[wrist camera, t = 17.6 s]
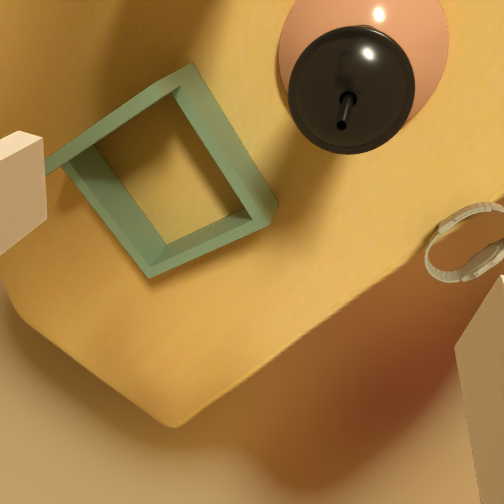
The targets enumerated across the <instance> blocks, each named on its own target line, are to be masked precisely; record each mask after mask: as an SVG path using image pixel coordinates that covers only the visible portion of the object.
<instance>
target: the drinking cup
mask: <svg viewBox="0 0 504 504" xmlns="http://www.w3.org/2000/svg"><path fill="white" fill-rule="evenodd" d="M414 97H415V76H414V71H413V68H412V65H411V62H410V60H409V58H408V56H407V54H406V53H405V51H404V50H403V48H402V47H401V46H400V45H399V44H398V43H397V42H396V41H395V40H394V39H393V38H392V37H390V36H389V35H387V34H385V33H384V32H382V31H380V30H377V29H376V28H374V27H372V26H369V25H352V26H344V27H339V28H336V29H333V30H330V31H328V32H326V33H324V34H322V35H321V36H319V37H318V38H316V39H315V40H314V41H313V42H311V43H310V44H309V45H308V46H307V47H306V48H305V49H304V51H303V52H302V53H301V55H300V56H299V58H298V59H297V61H296V63H295V65H294V67H293V70H292V72H291V75H290V79H289V85H288V103H289V108H290V112H291V115H292V117H293V120H294V122H295V124H296V126H297V127H298V129H299V130H300V131H301V133H302V134H303V135H304V136H305V137H306V138H307V139H308V140H309V141H310V142H312V143H313V144H315V145H316V146H318V147H320V148H321V149H324V150H326V151H329V152H332V153H336V154H346V155H351V154H360V153H364V152H368V151H371V150H373V149H376V148H378V147H379V146H381V145H383V144H385V143H386V142H387V141H389V140H390V139H391V138H392V137H393V136H394V135H395V134H397V132H398V131H399V130H400V129H401V128H402V126H403V125H404V123H405V122H406V120H407V118H408V116H409V114H410V112H411V109H412V106H413V102H414Z"/></svg>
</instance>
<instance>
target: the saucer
mask: <svg viewBox="0 0 504 504" xmlns="http://www.w3.org/2000/svg"><path fill="white" fill-rule="evenodd" d="M352 25H369V26H372V27H374V28H376V29H377V30H380V31H382V32H384V33H385V34H387V35H389V36H390V37H392V38H393V39H394V40H395V41H396V42H397V43H398V44H399V45H400V46H401V47H402V48H403V50H404V51H405V53H406V54H407V56H408V58H409V60H410V62H411V65H412V68H413V71H414V76H415V97H414V102H413V106H412V109H411V112H410V114H409V116H408V118H407V120H409V119H410V118H411V117H413V116H414V115H415V114H416V113H417V112H418V111H419V110H420V109H421V108H422V107H423V106H424V105H425V104H426V103H427V101H428V100H429V99H430V97H431V96H432V94H433V93H434V91H435V90H436V88H437V86H438V84H439V82H440V80H441V77H442V74H443V72H444V69H445V65H446V61H447V56H448V46H449V38H448V27H447V21H446V18H445V15H444V11H443V8H442V6H441V4H440V2H439V0H296V1H295V3H294V5H293V6H292V8H291V10H290V12H289V14H288V16H287V18H286V21H285V23H284V26H283V30H282V33H281V38H280V44H279V68H280V73H281V78H282V81H283V84H284V87H285V90H286V92H287V94H288V85H289V79H290V75H291V72H292V70H293V67H294V65H295V63H296V61H297V59H298V58H299V56H300V55H301V53H302V52H303V51H304V49H305V48H306V47H307V46H308V45H309V44H310V43H311V42H313V41H314V40H315V39H316V38H318V37H319V36H321V35H322V34H324V33H326V32H328V31H330V30H333V29H336V28H339V27H344V26H352ZM407 120H406V121H407Z"/></svg>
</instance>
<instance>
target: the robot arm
mask: <svg viewBox="0 0 504 504" xmlns="http://www.w3.org/2000/svg"><path fill="white" fill-rule="evenodd" d="M47 219H48V217H47V199H46V181H45V163H44V145H43V138H42V137H39V136H36V135H32V134H29V133H26V132H22V131H17V132H14V133H12V134H10V135H8V136H6V137H4V138H2V139H0V256H1V255H2V254H3V253H5V252H6V251H7V250H8V249H10V248H11V247H12V246H13V245H15V244H16V243H17V242H19V241H20V240H21V239H22V238H24V237H25V236H26V235H28V234H29V233H30V232H31V231H33V230H34V229H35V228H36V227H38V226H39V225H40V224H42V223H43V222H44V221H45V220H47ZM455 353H456V359H457V365H458V371H459V377H460V383H461V389H462V394H463V400H464V407H465V412H466V418H467V424H468V430H469V435H470V442H471V448H472V454H473V459H474V466H475V472H476V477H477V483H478V489H479V495H480V501H481V504H504V275H500V276H499V278H498V279H497V281H496V282H495V284H494V285H493V287H492V289H491V290H490V292H489V293H488V295H487V296H486V298H485V300H484V301H483V303H482V304H481V306H480V307H479V309H478V311H477V312H476V314H475V315H474V317H473V318H472V320H471V322H470V323H469V325H468V326H467V328H466V330H465V331H464V333H463V334H462V336H461V338H460V339H459V341H458V342H457V344H456V345H455Z"/></svg>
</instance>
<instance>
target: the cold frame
mask: <svg viewBox="0 0 504 504" xmlns="http://www.w3.org/2000/svg"><path fill="white" fill-rule="evenodd" d="M170 93H171V94H172V95H173V97H174V98H175V100H176V101H177V103H178V104H179V106H180V108H181V109H182V111H183V112H184V114H185V115H186V117H187V118H188V120H189V122H190V123H191V125H192V126H193V128H194V129H195V131H196V132H197V134H198V135H199V137H200V139H201V140H202V142H203V143H204V145H205V146H206V148H207V149H208V151H209V153H210V154H211V156H212V157H213V159H214V160H215V162H216V163H217V165H218V167H219V168H220V170H221V171H222V173H223V174H224V176H225V177H226V179H227V181H228V182H229V184H230V185H231V187H232V188H233V190H234V191H235V193H236V195H237V196H238V198H239V199H240V201H241V202H242V204H243V205H244V207H245V208H243V209H241V210H239V211H237V212H235V213H233V214H231V215H229V216H226V217H224V218H222V219H220V220H218V221H216V222H214V223H212V224H210V225H208V226H206V227H203V228H201V229H199V230H197V231H195V232H193V233H191V234H189V235H187V236H185V237H183V238H181V239H178V240H176V241H174V242H172V243H170V244H168V245H167V244H166V243H165V242H164V240H163V239H162V237H161V236H160V235H159V233H158V232H157V231H156V229H155V228H154V227H153V225H152V224H151V223H150V221H149V220H148V218H147V217H146V216H145V214H144V213H143V212H142V210H141V209H140V208H139V206H138V205H137V204H136V202H135V201H134V199H133V198H132V197H131V195H130V194H129V193H128V191H127V190H126V189H125V187H124V186H123V185H122V183H121V182H120V180H119V179H118V178H117V176H116V175H115V174H114V172H113V171H112V170H111V168H110V167H109V166H108V164H107V163H106V161H105V160H104V159H103V157H102V156H101V155H100V153H99V152H98V151H97V149H96V148H95V147H94V144H95V143H97V142H98V141H100V140H101V139H103V138H104V137H106V136H107V135H109V134H110V133H112V132H113V131H115V130H116V129H118V128H119V127H121V126H122V125H124V124H125V123H127V122H128V121H130V120H131V119H133V118H134V117H136V116H137V115H139V114H140V113H142V112H143V111H144V110H146V109H147V108H149V107H150V106H152V105H153V104H155V103H156V102H158V101H159V100H161V99H162V98H164V97H165V96H167V95H168V94H170ZM44 163H45V176H46V175H48V174H49V173H51V172H52V171H54V170H55V169H57V168H58V167H60V166H61V167H62V169H63V170H64V171H65V172H66V174H67V175H68V176H69V178H70V179H71V180H72V181H73V183H74V184H75V185H76V187H77V188H78V189H79V190H80V192H81V193H82V194H83V196H84V197H85V198H86V199H87V201H88V202H89V203H90V205H91V206H92V207H93V208H94V210H95V211H96V212H97V214H98V215H99V216H100V217H101V219H102V220H103V221H104V223H105V224H106V225H107V226H108V228H109V229H110V230H111V232H112V233H113V234H114V235H115V237H116V238H117V239H118V241H119V242H120V243H121V244H122V246H123V247H124V248H125V250H126V251H127V252H128V253H129V255H130V256H131V257H132V259H133V260H134V261H135V262H136V264H137V265H138V266H139V268H140V269H141V270H142V271H143V273H144V274H145V275H146V277H147V278H148V279H150V278H152V277H154V276H157V275H159V274H161V273H163V272H166V271H168V270H170V269H172V268H175V267H177V266H179V265H181V264H184V263H186V262H188V261H190V260H193V259H195V258H197V257H199V256H202V255H204V254H206V253H208V252H211V251H213V250H215V249H217V248H219V247H222V246H224V245H226V244H228V243H231V242H233V241H235V240H237V239H240V238H242V237H244V236H246V235H249V234H251V233H253V232H255V231H258V230H260V229H262V228H264V227H267V226H269V225H270V223H271V220H272V218H273V216H274V214H275V211H276V209H277V207H278V204H279V203H278V201H277V199H276V198H275V196H274V194H273V193H272V191H271V189H270V188H269V186H268V185H267V183H266V181H265V180H264V178H263V176H262V175H261V173H260V171H259V170H258V168H257V167H256V165H255V163H254V162H253V160H252V158H251V157H250V155H249V153H248V152H247V150H246V149H245V147H244V145H243V144H242V142H241V140H240V139H239V137H238V135H237V134H236V132H235V131H234V129H233V127H232V126H231V124H230V122H229V121H228V119H227V117H226V116H225V114H224V113H223V111H222V109H221V108H220V106H219V104H218V103H217V101H216V100H215V98H214V96H213V95H212V93H211V91H210V90H209V88H208V86H207V85H206V83H205V82H204V80H203V78H202V77H201V75H200V73H199V72H198V70H197V68H196V67H195V65H194V64H193V62H191V63H190V64H188V65H186V66H184V67H182V68H180V69H179V70H177V71H175V72H173V73H171V74H169V75H168V76H166V77H164V78H162V79H160V80H158V81H156V82H155V83H153V84H152V85H150V86H149V87H147V88H146V89H145V90H143V91H142V92H140V93H139V94H137V95H136V96H135V97H133V98H132V99H130V100H129V101H127V102H126V103H125V104H123V105H122V106H120V107H119V108H117V109H116V110H115V111H113V112H112V113H110V114H109V115H107V116H106V117H105V118H103V119H102V120H100V121H99V122H97V123H96V124H95V125H93V126H92V127H90V128H89V129H87V130H86V131H85V132H83V133H82V134H80V135H79V136H77V137H76V138H75V139H73V140H72V141H70V142H69V143H67V144H66V145H65V146H63V147H62V148H60V149H59V150H57V151H56V152H55V153H53V154H52V155H50V156H49V157H47V158H46V159H45V160H44Z"/></svg>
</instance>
